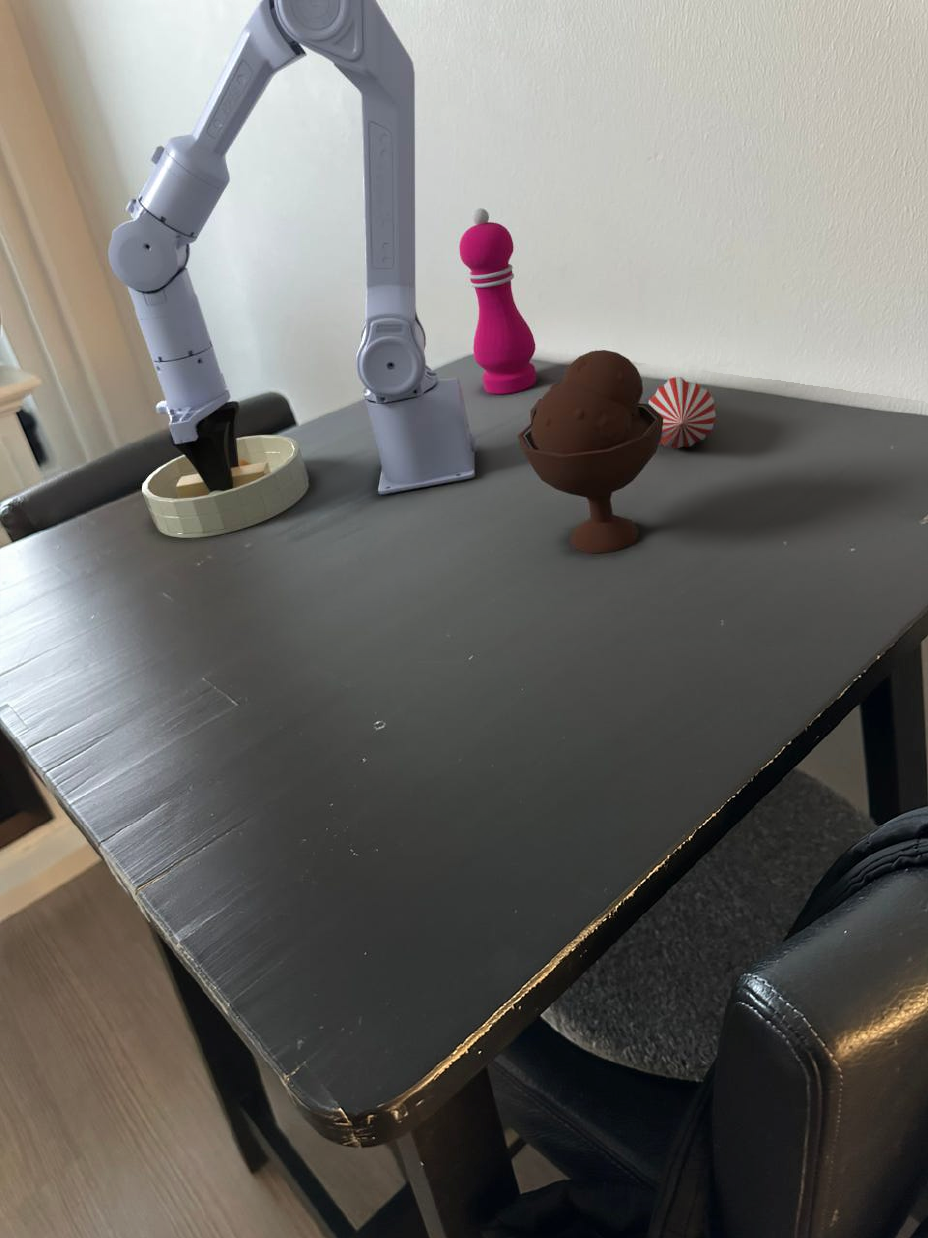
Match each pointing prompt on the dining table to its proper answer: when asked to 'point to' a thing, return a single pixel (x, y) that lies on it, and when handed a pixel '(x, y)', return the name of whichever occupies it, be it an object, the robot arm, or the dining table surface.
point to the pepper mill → (497, 309)
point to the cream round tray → (228, 491)
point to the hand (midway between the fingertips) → (226, 485)
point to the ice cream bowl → (594, 442)
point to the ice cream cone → (683, 412)
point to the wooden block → (241, 475)
